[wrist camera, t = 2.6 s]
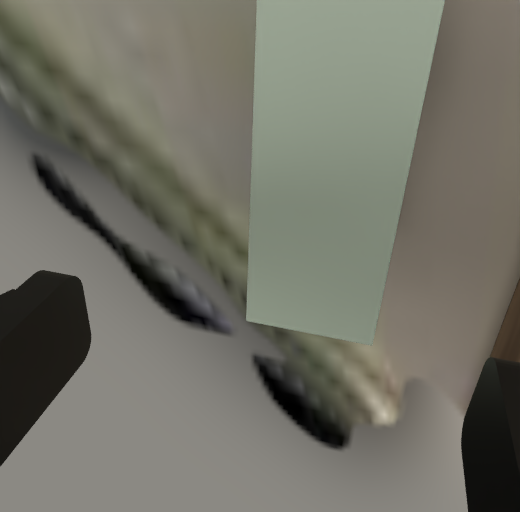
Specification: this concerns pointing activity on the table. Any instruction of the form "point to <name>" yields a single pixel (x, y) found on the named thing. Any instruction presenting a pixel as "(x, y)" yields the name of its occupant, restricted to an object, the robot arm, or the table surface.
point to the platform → (509, 332)
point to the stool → (332, 156)
